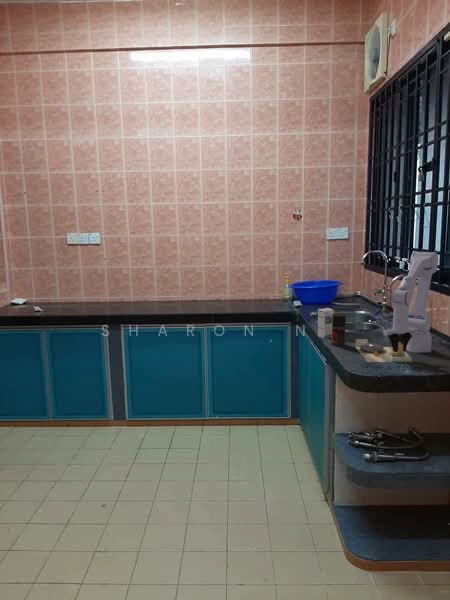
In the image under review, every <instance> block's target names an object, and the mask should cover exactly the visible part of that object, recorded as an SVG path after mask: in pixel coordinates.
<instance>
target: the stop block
mask: <svg viewBox="0 0 450 600" xmlns="http://www.w3.org/2000/svg"><path fill="white" fill-rule="evenodd" d="M403 350H404V344H402V343H401V342H399V344H398V352H394V351H393V350H392V357H403V352H404V351H403Z"/></svg>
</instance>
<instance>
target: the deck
mask: <svg viewBox="0 0 450 600" xmlns="http://www.w3.org/2000/svg"><path fill="white" fill-rule="evenodd" d="M355 348H356V350H357V351H358V352H359V353H360V355H361V356H362V357H363V358H364V360H365V361H366V362H367V363H393V362H392V361H391V360H390V359H389V358H388V357H387V356H386V352H392V350H393V348H392V346H384V351H383V352H379V353H377V355H374V354H373V353H370V352H365V351H362V350H360V347H358V346H355Z"/></svg>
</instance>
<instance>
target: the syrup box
mask: <svg viewBox="0 0 450 600" xmlns="http://www.w3.org/2000/svg"><path fill="white" fill-rule="evenodd" d="M333 314H335V310H334V309H333V308H330V307H326V308H318V309H317V337H319V338H320V337H321V338H324V339H325V338H331V339H332V315H333Z"/></svg>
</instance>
